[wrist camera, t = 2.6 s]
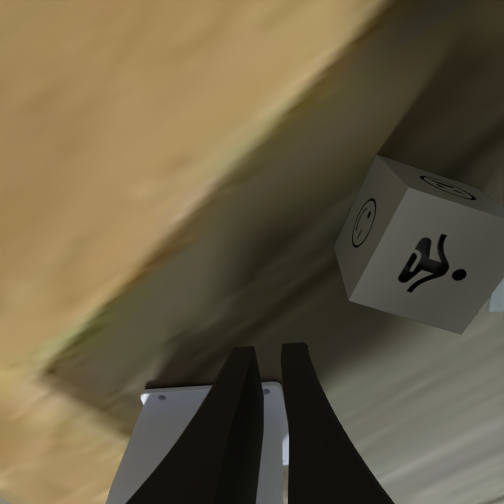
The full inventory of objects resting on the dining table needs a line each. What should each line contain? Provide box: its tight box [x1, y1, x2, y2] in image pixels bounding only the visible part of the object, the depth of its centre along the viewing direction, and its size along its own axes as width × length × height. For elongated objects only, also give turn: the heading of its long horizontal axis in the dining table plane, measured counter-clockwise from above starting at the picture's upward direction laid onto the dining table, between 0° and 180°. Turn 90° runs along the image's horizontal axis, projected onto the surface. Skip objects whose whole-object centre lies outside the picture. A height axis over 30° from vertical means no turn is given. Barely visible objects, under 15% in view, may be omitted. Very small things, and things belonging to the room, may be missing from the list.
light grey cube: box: [334, 155, 504, 334], centre depth 16 cm, size 5×5×5 cm
